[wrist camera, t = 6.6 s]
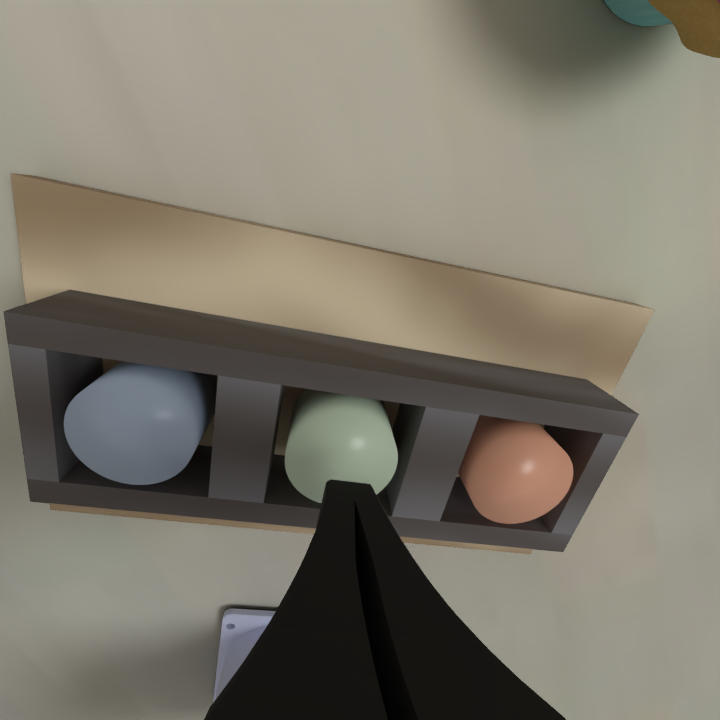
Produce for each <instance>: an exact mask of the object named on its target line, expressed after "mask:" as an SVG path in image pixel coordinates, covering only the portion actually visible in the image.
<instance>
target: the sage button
mask: <svg viewBox="0 0 720 720" xmlns="http://www.w3.org/2000/svg"><path fill="white" fill-rule="evenodd" d="M397 463H398V452H397V447H396V444H395V440H394V437H393V433H392V430H391V426H390V422H389V419H388V415H387V412H386V408H385V405H384V402H383V400H378V399H371V398H364V397H358V396H351V395H344V394H338V393H331V392H324V391H318V390H311V389H304V390H303V391H302V392H301V394H300V395H299V396H298V398H297V400H296V402H295V404H294V407H293V412H292V418H291V423H290V429H289V435H288V441H287V447H286V453H285V469H286V473H287V475H288V478H289V480H290V481H291V483H292V484H293V486H294V487H295V488H296V489H297V490H298V491H299V492H300V493H301V494H303V495H304V496H306V497H307V498H309V499H311V500H313V501H316V502H318V503H322V499H323V494H324V489H325V485H326V482H327V481H329V480H330V479H332V480H341V481H349V482H358V483H367V484H370V485H371V486H372V487H373V489H374V491H375V493H376V494H378V493H379V492H380V491H382V490H383V489H384V488H385V487H386V486H387V484H388V483H389V482H390V480H391V479H392V477H393V475H394V473H395V471H396V467H397Z"/></svg>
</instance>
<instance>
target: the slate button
mask: <svg viewBox="0 0 720 720" xmlns="http://www.w3.org/2000/svg"><path fill="white" fill-rule="evenodd" d="M216 393H217V384H216V382H215V380H214V377H213V376H212V375H211V374H205V373H198V372H192V371H185V370H178V369H172V368H165V367H158V366H152V365H145V364H138V363H132V362H125V361H120V362H119V363H118V364H116V365H115V366H114V367H113V368H111V369H110V370H109V371H107V372H106V373H105V374H103V375H102V376H101V377H99V378H98V379H97V380H95V381H94V382H93V383H91V384H90V385H89V386H87V387H86V388H85V389H84V390H82V391H81V392H80V393H79V394H77V395H76V396H75V397H74V398H73V400H72V401H71V402H70V404H69V405H68V407H67V410H66V412H65V416H64V432H65V436H66V439H67V442H68V444H69V446H70V448H71V449H72V451H73V452H74V454H75V455H76V456H77V457H78V458H79V460H80V461H81V462H82V463H84V464H85V465H86V466H87V467H88V468H90V469H91V470H93V471H94V472H96V473H98V474H99V475H101V476H103V477H106V478H108V479H111V480H113V481H116V482H120V483H125V484H131V485H149V484H155V483H159V482H163V481H165V480H168V479H170V478H172V477H174V476H175V475H177V474H178V473H179V472H181V471H182V470H183V469H184V468H185V467H186V465H187V464H188V463H189V461H190V459H191V457H192V456H193V454H194V452H195V450H196V448H197V446H198V444H199V443H200V441H201V439H202V437H203V435H204V433H205V431H206V430H207V428H208V426H209V424H210V422H211V420H212V418H213V417H214V415H215V406H216Z"/></svg>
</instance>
